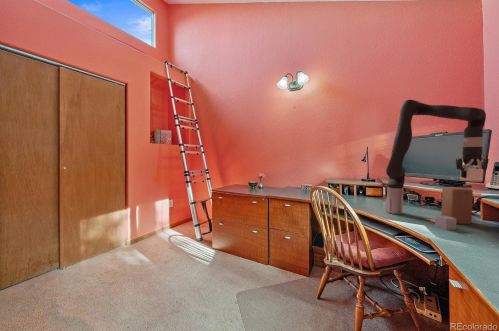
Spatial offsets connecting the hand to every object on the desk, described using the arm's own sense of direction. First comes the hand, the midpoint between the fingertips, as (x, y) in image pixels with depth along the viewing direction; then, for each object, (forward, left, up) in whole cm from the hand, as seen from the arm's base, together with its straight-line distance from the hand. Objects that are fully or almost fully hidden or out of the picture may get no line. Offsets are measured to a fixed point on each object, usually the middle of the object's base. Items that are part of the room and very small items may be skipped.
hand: (471, 177), depth 118 cm
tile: (-9, +11, -27) cm, 31 cm away
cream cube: (0, 0, -1) cm, 1 cm away
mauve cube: (-12, -1, -27) cm, 30 cm away
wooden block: (+2, +12, -27) cm, 30 cm away
